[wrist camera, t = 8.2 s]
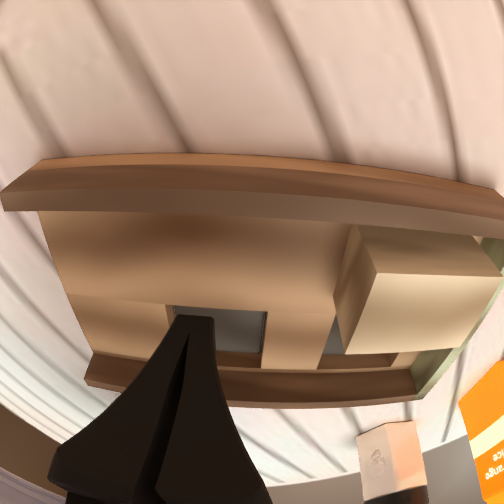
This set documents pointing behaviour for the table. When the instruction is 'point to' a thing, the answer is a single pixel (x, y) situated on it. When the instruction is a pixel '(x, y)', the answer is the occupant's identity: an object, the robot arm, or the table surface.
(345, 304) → the maple block
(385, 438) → the jar
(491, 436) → the orange juice
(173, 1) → the table surface
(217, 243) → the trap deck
